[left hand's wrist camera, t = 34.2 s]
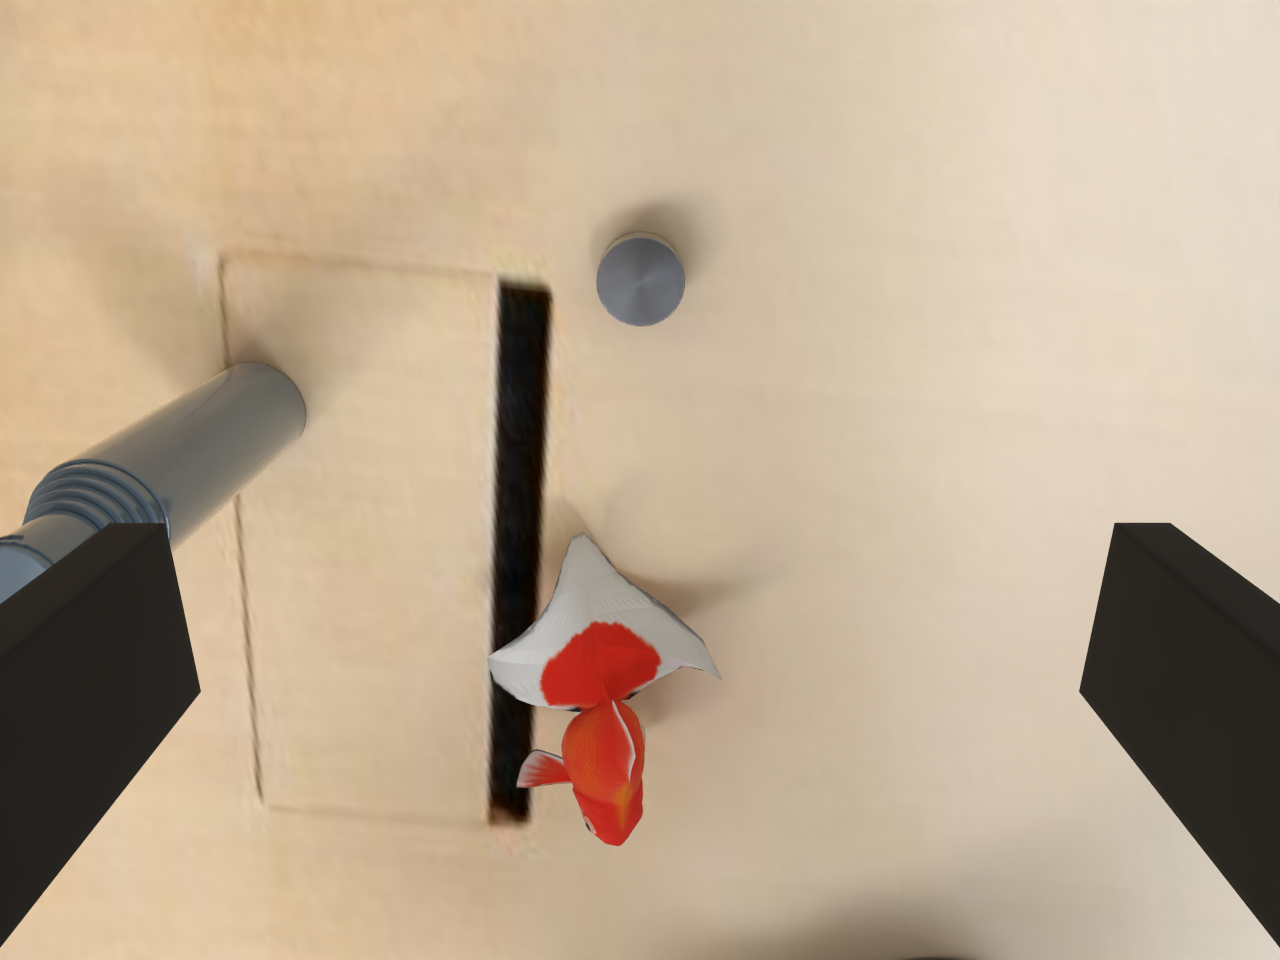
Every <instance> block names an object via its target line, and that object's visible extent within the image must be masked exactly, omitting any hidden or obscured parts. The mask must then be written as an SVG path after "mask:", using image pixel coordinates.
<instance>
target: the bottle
mask: <svg viewBox="0 0 1280 960" xmlns="http://www.w3.org/2000/svg"><path fill="white" fill-rule="evenodd" d="M305 418H306V413H305V406H304V402H303V399H302V396H301V394H300V392H299V391H298V389H297V388H296V386H295V385H294V384H293V383H292V381H291V380H290V379H289V378H288V377H286V376H285V375H284V374H283V373H281V372H280V371H278V370H276V369H274V368H272V367H270V366H267V365H264V364H259V363H250V362H249V363H240V364H236V365H233V366H231V367H229V368H227V369H225V370H224V371H222V372H220V373H218V374H217V375H215V376H213V377H211V378H210V379H208V380H206V381H204V382H203V383H201V384H199V385H197V386H196V387H194V388H192V389H191V390H189V391H187V392H185V393H184V394H182V395H180V396H178V397H177V398H175V399H173V400H171V401H170V402H168V403H166V404H164V405H163V406H161V407H159V408H157V409H156V410H154V411H152V412H150V413H149V414H147V415H145V416H144V417H142V418H140V419H138V420H137V421H135V422H133V423H131V424H130V425H128V426H126V427H124V428H123V429H121V430H119V431H117V432H116V433H114V434H112V435H110V436H109V437H107V438H105V439H103V440H102V441H100V442H98V443H97V444H95V445H93V446H91V447H90V448H88V449H86V450H84V451H83V452H81V453H79V454H77V455H76V456H74V457H72V458H70V459H69V460H67V461H65V462H63V463H62V464H60V465H58V466H56V467H55V468H54V469H52V470H51V471H50V472H48V473H47V475H46V476H45V477H44V478H43V479H42V481H41V482H40V483H39V484H38V485H37V486H36V488H35V489H34V491H33V493H32V495H31V497H30V501H29V505H28V507H27V511H26V514H25V518H24V522H23V524H22V526H21V527H20V528H18V529H17V530H15V531H14V532H12V533H10V534H9V535H6V536H2V537H0V604H1V603H2V602H4V601H5V600H6V599H8V598H9V597H10V596H12V595H13V594H14V593H16V592H17V591H18V590H20V589H21V588H22V587H24V586H25V585H27V584H28V583H29V582H31V581H32V580H33V579H35V578H36V577H37V576H39V575H40V574H41V573H43V572H44V571H45V570H47V569H48V568H50V567H51V566H52V565H54V564H55V563H56V562H58V561H59V560H60V559H62V558H63V557H64V556H66V555H67V554H68V553H70V552H71V551H73V550H74V549H75V548H77V547H78V546H79V545H81V544H82V543H83V542H85V541H86V540H87V539H89V538H90V537H92V536H93V535H94V534H96V533H97V532H98V531H100V530H101V529H102V528H104V527H105V526H106V525H108V524H109V523H165V524H166V529H167V533H168V538H169V543H170V548H171V552H172V553H173V552H174V551H175V550H176V549H178V548H179V547H180V546H181V545H182V544H183V543H184V542H185V541H186V540H188V539H189V538H190V537H191V536H192V535H193V534H194V533H195V532H196V531H197V530H199V529H200V528H201V527H202V526H203V525H204V524H205V523H206V522H207V521H209V520H210V519H211V518H212V517H213V516H214V515H215V514H216V513H217V512H219V511H220V510H221V509H222V508H223V507H224V506H225V505H226V504H227V503H229V502H230V501H231V500H232V499H233V498H234V497H235V496H236V495H237V494H239V493H240V492H241V491H242V490H243V489H244V488H245V487H246V486H247V485H248V484H250V483H251V482H252V481H253V480H254V479H255V478H256V477H257V476H258V475H260V474H261V473H262V472H263V471H264V470H265V469H266V468H267V467H268V466H270V465H271V464H272V463H273V462H274V461H275V460H276V459H277V458H278V457H280V456H281V455H282V454H283V453H284V452H285V451H286V450H287V449H288V448H289V447H291V446H292V445H293V444H294V443H295V442H296V441H297V439H298V438H299V437H300V435H301V433H302V431H303V428H304V425H305Z"/></svg>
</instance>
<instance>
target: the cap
mask: <svg viewBox="0 0 1280 960" xmlns="http://www.w3.org/2000/svg"><path fill="white" fill-rule="evenodd" d="M684 287H685V277H684V271H683V267H682V264H681V261H680V258H679V256H678V254H677V252H676V251H675V249H674V248H673V247H672V246H671V244H670V243H668V242H667V241H666V240H665V239H663V238H662V237H660V236H658V235H656V234H652V233H648V232H633V233H629V234H626V235H624V236H622V237H620V238H618V239H617V240H615V241H614V242H613V243H612V244H611V245H610V246H609V247H608V248H607V250H606V251H605V253H604V255H603V257H602V259H601V262H600V266H599V269H598V273H597V290H598V294H599V297H600V300H601V302H602V304H603V306H604V307H605V308H606V310H607V311H608V312H609V313H610V314H611V315H612V316H613V317H614V318H616V319H617V320H619V321H621V322H623V323H625V324H628V325H632V326H649V325H653V324H656V323H659V322H661V321H662V320H664V319H666V318H667V317H668V316H669V315H671V314H672V313H673V312H674V310H675V309H676V308H677V306H678V305H679V303H680V301H681V299H682V296H683V293H684Z"/></svg>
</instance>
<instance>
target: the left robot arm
mask: <svg viewBox="0 0 1280 960" xmlns="http://www.w3.org/2000/svg"><path fill="white" fill-rule="evenodd" d="M200 692H201V690H200V685H199V680H198V676H197V671H196V666H195V661H194V657H193V652H192V647H191V642H190V638H189V633H188V628H187V623H186V619H185V614H184V609H183V604H182V600H181V595H180V590H179V586H178V581H177V576H176V571H175V567H174V562H173V557H172V552H171V548H170V543H169V538H168V533H167V529H166V524H165V523H109V524H108V525H106V526H105V527H104V528H102V529H101V530H100V531H98V532H97V533H96V534H94V535H93V536H92V537H90V538H89V539H87V540H86V541H85V542H83V543H82V544H81V545H79V546H78V547H77V548H75V549H74V550H73V551H71V552H70V553H68V554H67V555H66V556H64V557H63V558H62V559H60V560H59V561H58V562H56V563H55V564H54V565H52V566H51V567H50V568H48V569H47V570H45V571H44V572H43V573H41V574H40V575H39V576H37V577H36V578H35V579H33V580H32V581H31V582H29V583H28V584H27V585H25V586H24V587H22V588H21V589H20V590H18V591H17V592H16V593H14V594H13V595H12V596H10V597H9V598H8V599H6V600H5V601H4V602H2V603H1V604H0V947H1V946H2V945H3V943H4V942H5V941H6V940H7V938H8V937H9V936H10V934H11V933H12V932H13V931H14V929H15V928H16V927H17V926H18V924H19V923H20V922H21V920H22V919H23V918H24V917H25V915H26V914H27V913H28V911H29V910H30V909H31V908H32V906H33V905H34V904H35V903H36V901H37V900H38V899H39V897H40V896H41V895H42V894H43V892H44V891H45V890H46V889H47V887H48V886H49V885H50V883H51V882H52V881H53V880H54V878H55V877H56V876H57V874H58V873H59V872H60V871H61V869H62V868H63V867H64V866H65V864H66V863H67V862H68V860H69V859H70V858H71V857H72V855H73V854H74V853H75V852H76V850H77V849H78V848H79V846H80V845H81V844H82V843H83V841H84V840H85V839H86V837H87V836H88V835H89V834H90V832H91V831H92V830H93V829H94V827H95V826H96V825H97V823H98V822H99V821H100V820H101V818H102V817H103V816H104V815H105V813H106V812H107V811H108V809H109V808H110V807H111V806H112V804H113V803H114V802H115V800H116V799H117V798H118V797H119V795H120V794H121V793H122V792H123V790H124V789H125V788H126V786H127V785H128V784H129V783H130V781H131V780H132V779H133V778H134V776H135V775H136V774H137V772H138V771H139V770H140V769H141V767H142V766H143V765H144V763H145V762H146V761H147V760H148V758H149V757H150V756H151V755H152V753H153V752H154V751H155V749H156V748H157V747H158V746H159V744H160V743H161V742H162V741H163V739H164V738H165V737H166V735H167V734H168V733H169V732H170V730H171V729H172V728H173V726H174V725H175V724H176V723H177V721H178V720H179V719H180V718H181V716H182V715H183V714H184V712H185V711H186V710H187V709H188V707H189V706H190V705H191V704H192V702H193V701H194V700H195V698H196V697H197V696H198V695H199V693H200ZM1079 692H1080V693H1081V695H1082V696H1083V697H1084V698H1085V700H1086V701H1087V702H1088V704H1089V705H1090V706H1091V707H1092V709H1093V710H1094V711H1095V712H1096V714H1097V715H1098V716H1099V718H1100V719H1101V720H1102V721H1103V723H1104V724H1105V725H1106V726H1107V728H1108V729H1109V730H1110V732H1111V733H1112V734H1113V735H1114V737H1115V738H1116V739H1117V741H1118V742H1119V743H1120V744H1121V746H1122V747H1123V748H1124V749H1125V751H1126V752H1127V753H1128V755H1129V756H1130V757H1131V758H1132V760H1133V761H1134V762H1135V763H1136V765H1137V766H1138V767H1139V769H1140V770H1141V771H1142V772H1143V774H1144V775H1145V776H1146V778H1147V779H1148V780H1149V781H1150V783H1151V784H1152V785H1153V786H1154V788H1155V789H1156V790H1157V792H1158V793H1159V794H1160V795H1161V797H1162V798H1163V799H1164V800H1165V802H1166V803H1167V804H1168V806H1169V807H1170V808H1171V809H1172V811H1173V812H1174V813H1175V815H1176V816H1177V817H1178V818H1179V820H1180V821H1181V822H1182V823H1183V825H1184V826H1185V827H1186V829H1187V830H1188V831H1189V832H1190V834H1191V835H1192V836H1193V837H1194V839H1195V840H1196V841H1197V843H1198V844H1199V845H1200V846H1201V848H1202V849H1203V850H1204V852H1205V853H1206V854H1207V855H1208V857H1209V858H1210V859H1211V860H1212V862H1213V863H1214V864H1215V866H1216V867H1217V868H1218V869H1219V871H1220V872H1221V873H1222V874H1223V876H1224V877H1225V878H1226V880H1227V881H1228V882H1229V883H1230V885H1231V886H1232V887H1233V889H1234V890H1235V891H1236V892H1237V894H1238V895H1239V896H1240V897H1241V899H1242V900H1243V901H1244V903H1245V904H1246V905H1247V906H1248V908H1249V909H1250V910H1251V911H1252V913H1253V914H1254V915H1255V917H1256V918H1257V919H1258V920H1259V922H1260V923H1261V924H1262V926H1263V927H1264V928H1265V929H1266V931H1267V932H1268V933H1269V934H1270V936H1271V937H1272V938H1273V940H1274V941H1275V942H1276V943H1277V945H1278V946H1279V947H1280V604H1279V603H1278V602H1276V601H1275V600H1274V599H1272V598H1271V597H1270V596H1268V595H1267V594H1266V593H1264V592H1263V591H1262V590H1260V589H1259V588H1258V587H1256V586H1255V585H1253V584H1252V583H1251V582H1249V581H1248V580H1247V579H1245V578H1244V577H1243V576H1241V575H1240V574H1239V573H1237V572H1236V571H1235V570H1233V569H1232V568H1230V567H1229V566H1228V565H1226V564H1225V563H1224V562H1222V561H1221V560H1220V559H1218V558H1217V557H1216V556H1214V555H1213V554H1212V553H1210V552H1209V551H1207V550H1206V549H1205V548H1203V547H1202V546H1201V545H1199V544H1198V543H1197V542H1195V541H1194V540H1193V539H1191V538H1190V537H1188V536H1187V535H1186V534H1184V533H1183V532H1182V531H1180V530H1179V529H1178V528H1176V527H1175V526H1174V525H1172V524H1171V523H1115V524H1114V529H1113V533H1112V538H1111V543H1110V548H1109V552H1108V557H1107V562H1106V567H1105V571H1104V576H1103V581H1102V586H1101V590H1100V595H1099V600H1098V604H1097V609H1096V614H1095V619H1094V623H1093V628H1092V633H1091V638H1090V642H1089V647H1088V652H1087V657H1086V661H1085V666H1084V671H1083V676H1082V680H1081V685H1080V690H1079Z"/></svg>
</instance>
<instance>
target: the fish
mask: <svg viewBox="0 0 1280 960" xmlns="http://www.w3.org/2000/svg"><path fill="white" fill-rule="evenodd" d="M487 658H488V664H489V669H490V674H491V679H492V682H494V683H495V684H496V685H498V686H499V687H500V688H502V689H503V690H504V691H506V692H507V693H508V694H510V695H511V696H512V697H514V698H515V699H518V700H521V701H523V702H526V703H529V704H532V705H536V706H542V707H547V708H553V709H560V710H566V711H573V712H574V713H575V714H576V717H575V718H574V719H573V720H572V721H571V722H570V724H569V725H568V727H567V729H566V731H565V734H564V736H563V740H562V756H563V758H561V757H559V756H557V755H554V754H551V753H548V752H545V751H542V750H537V749H536V750H533V751H532V752H531V753H530V754H529V755H528V757H527V758H526V760H525V761H524V763H523V764H522V766H521V770H520V773H519V776H518V780H517V786H516V788H529V787H536V786H542V785H551V784H557V783H573V786H574V787H573V792H574V795H575V797H576V799H577V801H578V803H579V806H580V809H581V811H582V814H583V817H584V820H585V823H586V826H587V828H588V830H589V831H590V832H591V833H593V834H594V835H596V836H597V837H598V838H600V839H601V840H602V841H603V842H605V843H606V844H610V845H615V846H620V845H622V844H623V843H624V841H625V840H626V839H627V838H628V837H629V835H630V833H631V832H632V830H633V829H634V827H635V826H636V825H637V823H638V822H639V820H640V819H641V817H642V814H643V805H642V798H643V787H642V778H641V777H642V772H643V768H644V751H645V737H646V733H645V730H644V727H643V726H642V725H641V724H640V723H639V720H638V718H637V716H636V715H635V713H634V712H633V711H632V710H631V709H630V708H629V707H628V706H627V705H625V704H624V703H622V702H620V700H627V699H630V698H631V697H633V696H634V695H635V694H637V693H638V692H640V691H641V690H642V689H644V688H645V687H646V686H648V685H649V684H650V683H651V682H653V681H654V680H656V679H659V678H661V677H663V676H665V675H668V674H669V673H671V672H673V671H675V670H677V669H678V668H680V667H682V666H686V667H691V668H695V669H700V670H704V671H707V672H709V673H711V674H713V675H715V676H716V677H718V678H719V679H720V680H722V679H721V677H720V675H719V673H718V671H717V669H716V667H715V665H714V663H713V661H712V658H711V656H710V654H709V652H708V650H707V648H706V646H705V644H704V642H703V640H702V639H701V638H700V637H699V636H698V635H697V634H696V633H695V632H693V631H692V630H691V629H690V628H689V627H688V626H687V625H686V624H685V623H684V622H682V621H681V620H680V619H679V618H678V617H677V616H676V615H675V614H674V613H673V612H672V611H670V610H669V609H668V608H667V607H666V606H664V605H663V604H661V603H660V602H659V601H657V600H656V599H654V598H653V597H652V596H650V595H649V594H647V593H646V592H644V591H643V590H642V589H640V588H639V587H637V586H636V585H635V584H633V583H632V582H631V581H629V580H628V579H627V578H625V577H624V576H623V575H621V574H620V573H619V572H617V571H616V569H615V568H614V567H613V565H612V564H611V563H610V561H609V560H608V559H607V557H606V556H605V555H604V554H603V553H602V552H601V550H600V549H599V548H598V547H597V546H596V545H595V544H594V542H593V541H592V540H591V539H590V538H589V537H588V536H587V535H586V534H584V533H581V534H578V535H576V536H574V537H572V539H571V541H570V543H569V546H568V548H567V552H566V555H565V558H564V561H563V564H562V567H561V570H560V574H559V577H558V580H557V583H556V587H555V590H554V593H553V597H552V599H551V601H550V602H549V604H548V605H547V607H546V608H545V610H544V611H543V613H542V614H541V616H540V617H539V618H538V619H537V620H536V621H535V622H534V623H533V624H532V625H531V626H530V627H529V628H528V629H527V630H526V631H525V632H524V633H523V634H522V635H521V636H519V637H518V638H516V639H515V640H513V641H512V642H510V643H509V644H507V645H506V646H504V647H503V648H501V649H500V650H498V651H497V652H495V653H493V654H492V655H490V656H489V657H487Z"/></svg>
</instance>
